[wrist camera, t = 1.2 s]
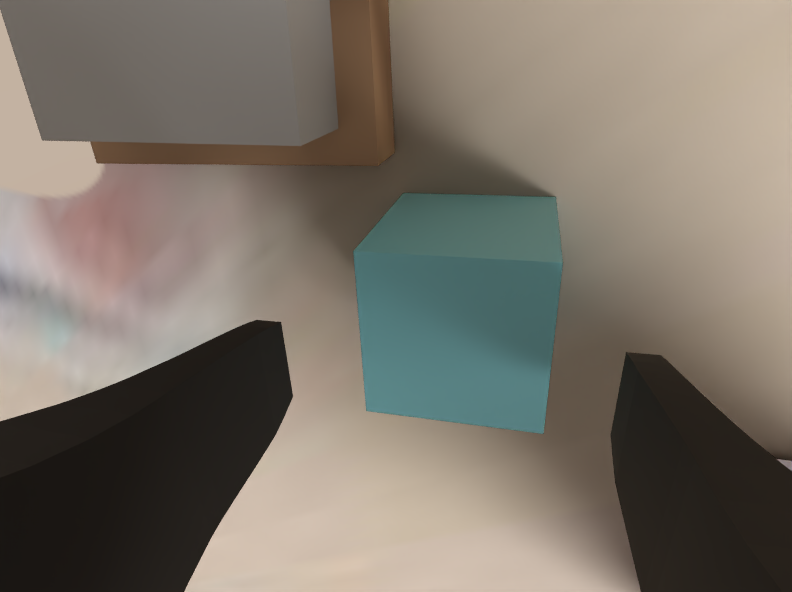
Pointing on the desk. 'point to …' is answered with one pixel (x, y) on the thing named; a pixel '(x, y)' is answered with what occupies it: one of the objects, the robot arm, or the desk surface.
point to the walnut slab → (356, 107)
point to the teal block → (460, 308)
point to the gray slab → (177, 69)
